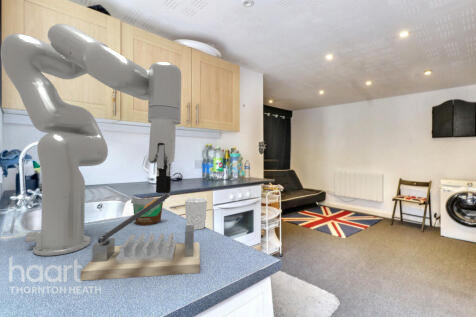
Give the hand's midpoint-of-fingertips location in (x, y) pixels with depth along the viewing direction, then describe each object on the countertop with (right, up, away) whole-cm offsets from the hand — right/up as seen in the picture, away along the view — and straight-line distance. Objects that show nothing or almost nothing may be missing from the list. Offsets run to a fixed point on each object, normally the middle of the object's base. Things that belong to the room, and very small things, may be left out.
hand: (163, 192), depth 56 cm
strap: (-6, -6, -1) cm, 8 cm away
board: (-3, -17, 0) cm, 17 cm away
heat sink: (-4, -15, -1) cm, 15 cm away
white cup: (+3, -17, +28) cm, 33 cm away
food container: (-16, -17, +31) cm, 39 cm away
